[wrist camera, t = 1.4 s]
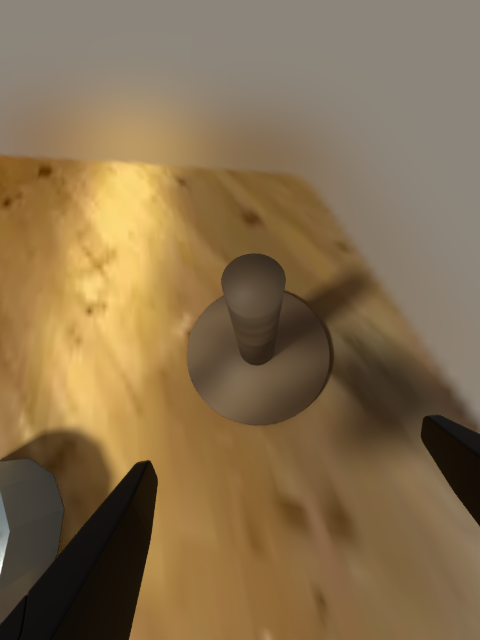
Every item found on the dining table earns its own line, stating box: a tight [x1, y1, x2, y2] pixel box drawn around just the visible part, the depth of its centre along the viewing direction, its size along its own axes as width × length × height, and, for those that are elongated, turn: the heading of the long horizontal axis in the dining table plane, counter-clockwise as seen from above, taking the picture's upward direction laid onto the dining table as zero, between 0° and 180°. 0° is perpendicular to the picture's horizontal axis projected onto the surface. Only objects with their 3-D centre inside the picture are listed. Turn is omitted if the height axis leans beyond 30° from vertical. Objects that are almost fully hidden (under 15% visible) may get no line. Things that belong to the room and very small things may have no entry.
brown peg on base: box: [187, 254, 330, 425], centre depth 17 cm, size 12×12×12 cm
